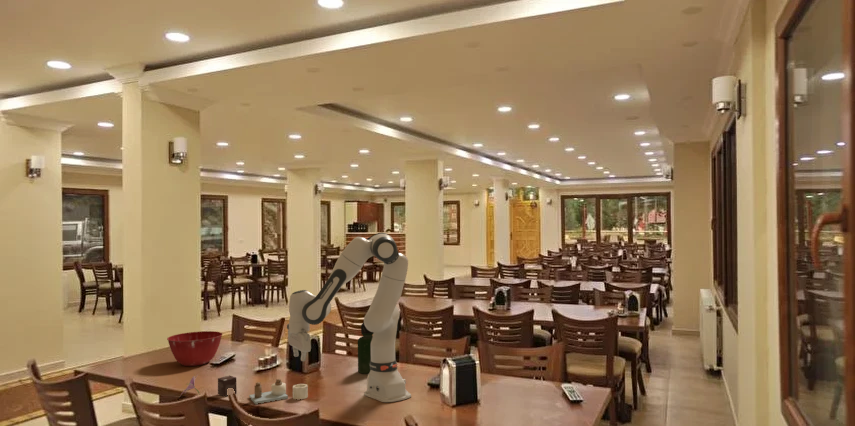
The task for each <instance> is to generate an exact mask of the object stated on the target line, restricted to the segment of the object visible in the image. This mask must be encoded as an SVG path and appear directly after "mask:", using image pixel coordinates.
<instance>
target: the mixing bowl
mask: <svg viewBox="0 0 855 426" xmlns="http://www.w3.org/2000/svg"><path fill="white" fill-rule="evenodd" d="M222 336H223V332H221V331H211V330H205V331H201V330H200V331H191V332H184V333H177V334H173V335H171V336H169V337H168V336H167V342H168V345H169V348H170V351H171V353H172V356H173V357H174V360H176V361H177V362H178V364H180V365H182V366H183V367H195V366H196V367H197V366H202V365H205V364H208V363H209V362H210V361H212V360H213V359H214V357H215V355H216V353H217V351H218V349H219V346H220V344H221V340H222Z"/></svg>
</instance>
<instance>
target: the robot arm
mask: <svg viewBox="0 0 855 426" xmlns="http://www.w3.org/2000/svg"><path fill="white" fill-rule="evenodd" d="M371 257H372V258H373V257H375V258H376V259H377V260H379V261H381V262H383V268H382V270H381V271H382V272H381V276H380V279H379V283H378V286H377V289H376V292H375V294H374V297H373V299H372V301H371V303H370V306H369V309H367V312H366V313H365V315H364V318H363V323H364V325H365V327H366V328H367V330H369V331H371V332H374V333H373V334H372V336H373V338H372V341H371V360H370V369H371V370H370V373H369V374H367V378H366V391H364V394H363V395H364V397H369V398H371V399H374V400H377V401H379V402H382V403H394V402H399V401H404V400H406V399H407V400H408V399H409V398H411V397H412V394H411V392H409V391H408V390H407V389H406V384H407V383H406V382H407V381H406V378H403V376H402V375H401V373H400V372H399V370H398V362H397V359H396V339H397V331H398V323H399V319H400V314H401V313H400V310H399V307H398V306H397V304H398V302H399V301H400V299H401V296H402V294H403V289H404V286H405V283H406V278H407V274H408V269H409V259H408V257H407V256H406V255H405V254H403V253H402V252H399V249H398V246H397V242H396V241H395V240H394V238H393V237H392V235H389V234H387V233H385V232H377V233H376V234H374V235H372V236H370V237H368V238H365V237H363V236H356V237H354V238H353V239H352V240H351V241H350V242H349V243H348V244H347V245H346V247H344V249H343V250H342V252H341V253H340V255H339V256H338V258H337V260H336V262H335V264H334V266H333V269H332V271H331V272H330V274H329V277H328V278H327V280H326V282H325V283H324V285H323V286H322V287H321V288H320V290H319V292H318V293H317V295H316V294H313V293H311V292H310V291H309V290H306V289H302V290H298V291H294V292H292V293H291V294H290V295H289V301H288V302H289V304H288V311H289V319H288V323H287V324H286V329H287V338H288V339H287V340H288V344H289V345H290V346H292V351H293V356H294V357H295V358H296V357H300V361H301V362H305V361H307V360H306V359H307V358H306V357H307V354H308V353H309V352H311V349H312V341H311V335H310V333H308V332H310V328H311V325H312V326H313V325H315V326H316V325H319V324H321V323H322V322H323V321H324V320H325V319H326V318H327V317H328V316H329V314H330V313H331V310H332V305H331V302H332V300H333V299H334V297H335V296H336V294H337V293H338V292H339V290H341V288H342V287H343V286H344V285H346V284H347V283H348V282H350V281H351V280H352V279H354V277H356V275H358V274H359V272H360V271H361V270H362V268H363V266H364V265H365V263H366V262H367V261H368V259H370V258H371ZM299 351H300V352H301V353H300V354H301V355H300V354H299ZM299 355H300V356H299Z"/></svg>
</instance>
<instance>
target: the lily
mask: <svg viewBox="0 0 855 426" xmlns="http://www.w3.org/2000/svg"><path fill="white" fill-rule="evenodd" d="M196 378H198V375H196V376H195V375H193V376H192V377H191V379H190V380H189V382H188V383H186V385H187V386H186V389H184V390H183V391H182V392H181V394H180V395H179V397H181V396H182V394H186V393H187V392H188V391H189V390H193V389H195V390H196V391H197V393H198V394H199V393H200V391H199V390H198V389H197V388H196V385H195V383H196V382H195V381H196Z"/></svg>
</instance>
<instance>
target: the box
mask: <svg viewBox="0 0 855 426" xmlns="http://www.w3.org/2000/svg"><path fill="white" fill-rule="evenodd" d="M228 388H233V389H234V391H235V394H237V377H236V376H232V375H225V376H223V377H218V378H217V394H219V395H218V396H222V397H224V396H225V397H227V396H226V395H227V389H228Z"/></svg>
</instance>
